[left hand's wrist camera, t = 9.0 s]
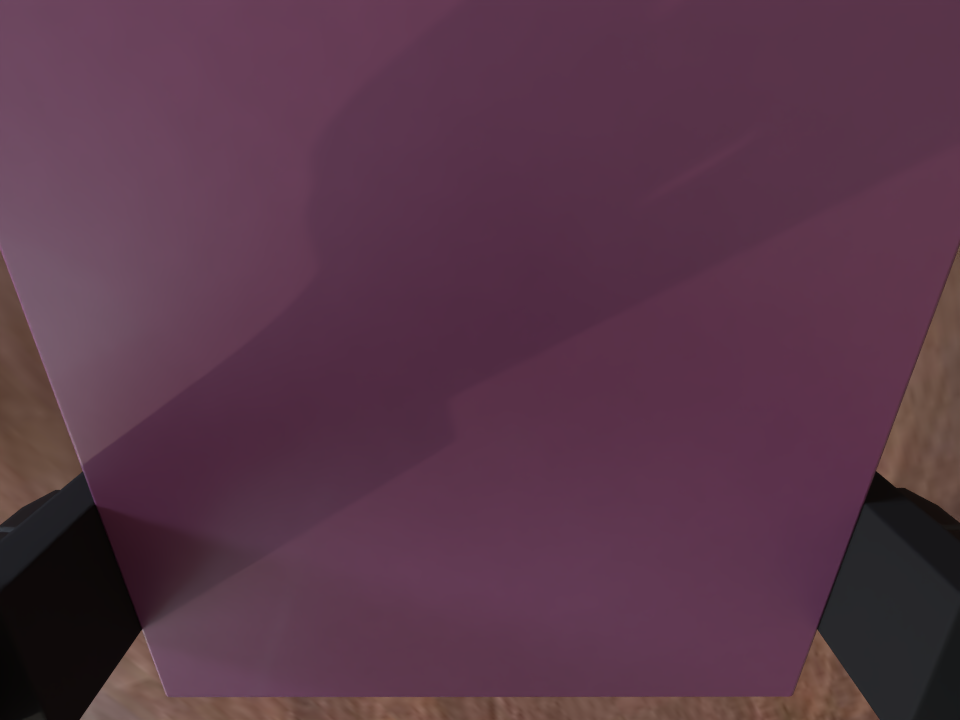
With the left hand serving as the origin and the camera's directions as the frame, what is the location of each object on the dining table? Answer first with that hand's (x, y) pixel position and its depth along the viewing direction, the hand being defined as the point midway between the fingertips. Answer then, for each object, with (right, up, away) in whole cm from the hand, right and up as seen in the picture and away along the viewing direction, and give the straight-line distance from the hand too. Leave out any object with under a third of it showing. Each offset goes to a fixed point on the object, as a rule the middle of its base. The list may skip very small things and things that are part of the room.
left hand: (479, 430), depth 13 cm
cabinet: (0, +9, +3) cm, 9 cm away
